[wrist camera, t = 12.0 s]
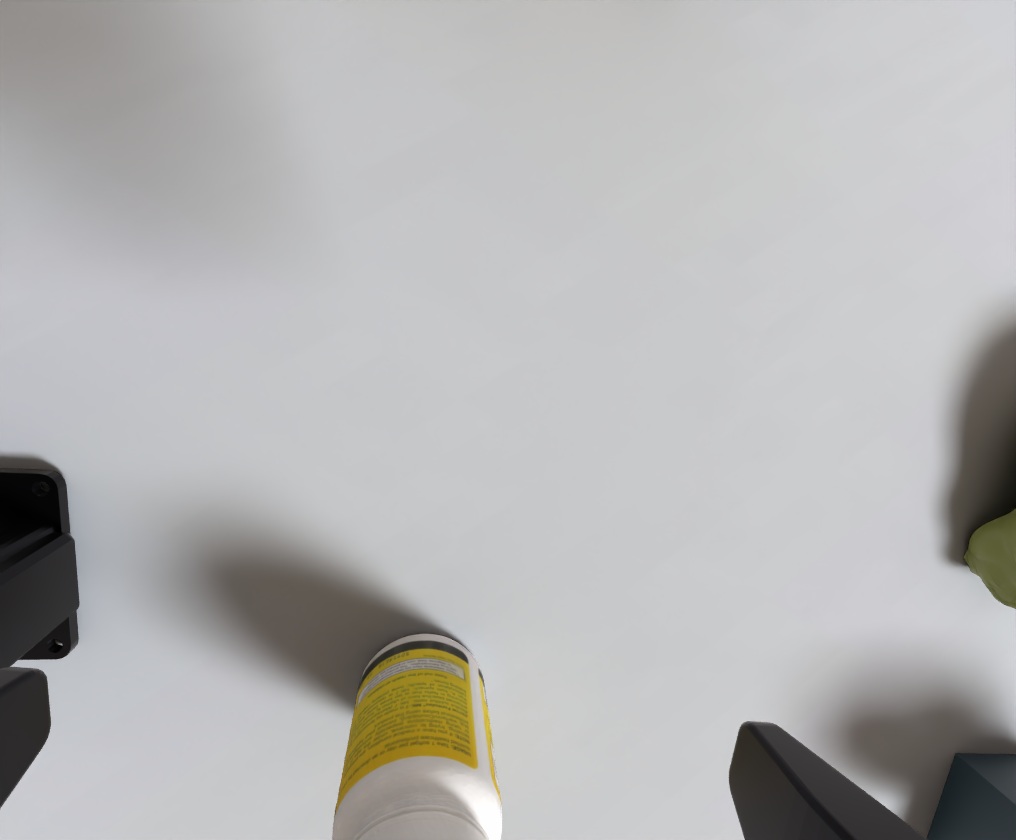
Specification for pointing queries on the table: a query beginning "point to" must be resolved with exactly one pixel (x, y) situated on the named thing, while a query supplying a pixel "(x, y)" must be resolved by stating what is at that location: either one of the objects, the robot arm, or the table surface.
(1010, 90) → the table surface
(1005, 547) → the pear
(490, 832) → the supplement bottle
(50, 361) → the table surface
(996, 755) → the watch
